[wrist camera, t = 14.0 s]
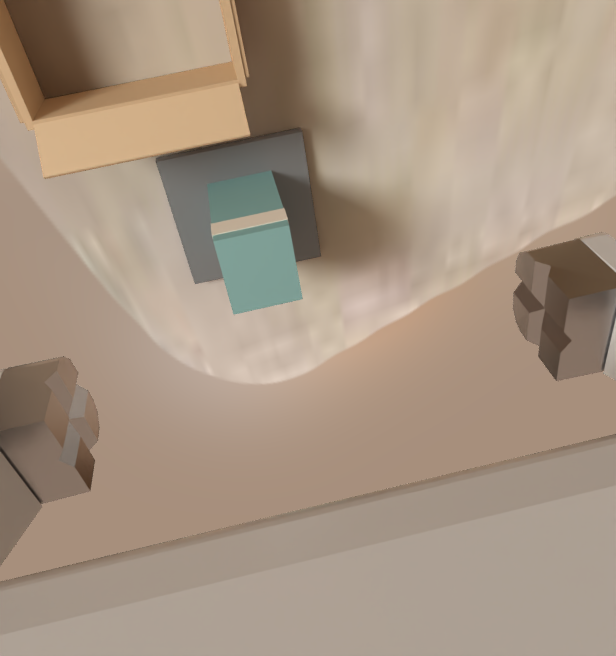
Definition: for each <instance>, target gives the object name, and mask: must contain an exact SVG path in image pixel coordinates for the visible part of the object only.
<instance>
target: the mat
mask: <svg viewBox="0 0 616 656" xmlns="http://www.w3.org/2000/svg"><path fill="white" fill-rule="evenodd" d="M156 164H157V167H158V170H159V173H160V176H161V179H162V182H163V185H164V189H165V192H166V195H167V198H168V201H169V204H170V207H171V210H172V213H173V217H174V220H175V223H176V226H177V229H178V232H179V235H180V238H181V242H182V245H183V248H184V251H185V254H186V257H187V260H188V263H189V267H190V270H191V273H192V276H193V279H194V282H195V284H198V283H202V282H207V281H211V280H216V279H220V278H223V274H222V271H221V267H220V264H219V260H218V257H217V253H216V250H215V246H214V242H213V238H212V233H211V216H210V206H209V197H208V188H207V184H210V183H214V182H219V181H224V180H229V179H233V178H238V177H243V176H248V175H252V174H257V173H262V172H266V171H272V174H273V178H274V181H275V184H276V187H277V190H278V193H279V196H280V199H281V202H282V205H283V208H284V209H285V212H286V215H287V218H288V222H289V228H290V233H291V239H292V244H293V249H294V255H295V260H296V262H298V261H302V260H307V259H311V258H316V257H320V256H321V253H320V246H319V240H318V233H317V226H316V220H315V213H314V206H313V200H312V193H311V187H310V180H309V173H308V167H307V160H306V154H305V147H304V140H303V134H302V130H301V128H297V129H292V130H287V131H283V132H278V133H273V134H268V135H264V136H259V137H254V138H249V139H244V140H240V141H235V142H230V143H225V144H220V145H216V146H211V147H206V148H201V149H196V150H192V151H187V152H182V153H177V154H172V155H168V156H163V157H158V158H156Z"/></svg>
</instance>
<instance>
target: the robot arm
mask: <svg viewBox="0 0 616 656" xmlns="http://www.w3.org/2000/svg"><path fill="white" fill-rule="evenodd" d="M515 273H516V274H517V275H518V276H519V278H520V279H521V280H522V282H521V283H520V285H519V286H518V287H517V289H516V290H515V291H514V293H513V294H514V295H513V310H514V315H515V320H516V323H517V325H518V327H519V329H520V332H521V333H522V334H523V336H524V337H525V339H526V340H527V341H529V342H532V343H534V344H536V345H538V346H539V354H538V356H539V358H540V360H541V361H542V362H543V363H544V365H545V366H546V368H547V369H548V370H549V372H550V373H551V374H552V376H553V377H554V379H555V380H556V381H559V380H563V379H569V378H573V377H578V376H583V375H588V374H593V373H597V372H602V371H604V372H603V374H605V375H607V376H609V377H611V378H613V379H614V380H616V240H615V239H614V238H613V237H612V236H610V235H609V234H607V233H603V232H599V233H595V234H592V235H587V236H584V237H580V238H576V239H574V240H572V241H568V242H563V243H559V244H554V245H550V246H546V247H542V248H537V249H534V250H529V251H525V252H520V253H519V255H518V258H517V260H516V270H515ZM77 377H78V371H77V370H76V368H75V366H74V365H73V363H72V362H71V360H70V359H69V358H66V357H64V356H63V357H58V358H53V359H48V360H43V361H38V362H34V363H29V364H24V365H19V366H15V367H9V368H7V369H1V370H0V566H1V565H2V563H3V562H4V560H5V559H6V557H7V556H8V555H9V553H10V552H11V550H12V549H13V547H14V546H15V545H16V543H17V542H18V540H19V539H20V537H21V536H22V535H23V533H24V532H25V530H26V529H27V527H28V526H29V525H30V523H31V522H32V520H33V519H34V518H35V516H36V515H37V513H38V512H39V510H40V509H41V508H42V505H41V504H43V503H47V502H51V501H55V500H58V499H62V498H66V497H70V496H74V495H77V494H81V493H85V492H89V491H90V490H91V484H92V477H93V471H94V464H95V459H94V458H93V456H92V454H91V453H90V451H89V450H90V449H91V448H92V447H93V446H94V445H95V443H96V442H97V441H98V436H99V421H98V412H97V409H96V406H95V403H94V400H93V398H92V396H91V395H90V393H89V391H88V390H86V389H84V388H82V387H80V386H79V385H77V384H76V382H77ZM0 656H616V434H613V435H609V436H605V437H601V438H597V439H593V440H588V441H584V442H581V443H576V444H572V445H568V446H563V447H559V448H555V449H551V450H547V451H542V452H538V453H534V454H530V455H526V456H522V457H517V458H513V459H509V460H505V461H501V462H497V463H492V464H489V465H484V466H480V467H475V468H471V469H467V470H463V471H459V472H454V473H450V474H446V475H442V476H438V477H433V478H429V479H425V480H421V481H417V482H413V483H408V484H405V485H400V486H396V487H392V488H388V489H384V490H380V491H375V492H372V493H367V494H363V495H359V496H355V497H350V498H346V499H342V500H338V501H334V502H329V503H325V504H321V505H317V506H313V507H309V508H305V509H300V510H296V511H292V512H288V513H284V514H280V515H276V516H271V517H267V518H263V519H259V520H255V521H251V522H246V523H242V524H239V525H235V526H230V527H226V528H222V529H217V530H213V531H209V532H205V533H201V534H197V535H192V536H188V537H184V538H180V539H176V540H172V541H167V542H163V543H159V544H155V545H151V546H147V547H142V548H138V549H134V550H130V551H126V552H122V553H117V554H113V555H109V556H105V557H101V558H97V559H93V560H88V561H84V562H80V563H76V564H72V565H67V566H63V567H59V568H55V569H51V570H47V571H42V572H39V573H34V574H30V575H26V576H22V577H18V578H14V579H9V580H6V581H1V582H0Z"/></svg>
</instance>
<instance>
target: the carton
mask: <svg viewBox="0 0 616 656" xmlns="http://www.w3.org/2000/svg"><path fill="white" fill-rule="evenodd" d="M219 2H220V7H221V11H222V16H223V21H224V25H225V30H226V35H227V40H228V44H229V49H230V54H231V59H232V62H228V63H223V64H218V65H213V66H208V67H203V68H199V69H194V70H189V71H184V72H179V73H174V74H169V75H164V76H159V77H154V78H149V79H144V80H139V81H134V82H129V83H124V84H119V85H114V86H109V87H104V88H99V89H94V90H89V91H84V92H80V93H75V94H70V95H65V96H60V97H55V98H50V99H44V96H43V94H42V91H41V89H40V87H39V84H38V82H37V79H36V77H35V75H34V72H33V70H32V67H31V65H30V62H29V60H28V58H27V55H26V53H25V50H24V48H23V46H22V43H21V41H20V38H19V36H18V34H17V31H16V29H15V26H14V24H13V22H12V19H11V17H10V14H9V12H8V10H7V7H6V5H5V2H4V0H0V79H1V81H2V83H3V86H4V88H5V90H6V92H7V94H8V97H9V99H10V101H11V103H12V105H13V108H14V110H15V112H16V114H17V116H18V119H19V121H20V123H25V125H26V127H27V129H28V131H29V130H35V135H36V140H37V146H38V151H39V156H40V162H41V167H42V172H43V178H45V179H47V178H52V177H57V176H62V175H66V174H71V173H76V172H81V171H86V170H90V169H95V168H100V167H105V166H110V165H114V164H119V163H124V162H129V161H134V160H138V159H143V158H148V157H153V156H158V155H162V154H167V153H172V152H177V151H182V150H186V149H191V148H196V147H201V146H205V145H210V144H215V143H220V142H225V141H229V140H234V139H239V138H244V137H249V136H250V131H249V127H248V123H247V118H246V114H245V110H244V105H243V101H242V96H241V92H240V87H245V86H247V84H246V79H245V77H249V72H248V67H247V62H246V57H245V52H244V47H243V42H242V37H241V31H240V26H239V21H238V16H237V11H236V6H235V1H234V0H219Z"/></svg>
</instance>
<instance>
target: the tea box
mask: <svg viewBox="0 0 616 656" xmlns="http://www.w3.org/2000/svg"><path fill="white" fill-rule="evenodd" d="M207 188H208V197H209V206H210V216H211V233H212V238H213V242H214V246H215V250H216V253H217V257H218V260H219V264H220V267H221V271H222V274H223V278H224V282H225V285H226V289H227V292H228V296H229V299H230V303H231V307H232V310H233V314H238V313H243V312H247V311H252V310H256V309H261V308H265V307H270V306H274V305H279V304H283V303H287V302H292V301H296V300H301V299H303V298H302V293H301V288H300V282H299V277H298V271H297V266H296V260H295V255H294V249H293V244H292V239H291V233H290V228H289V222H288V218H287V215H286V212H285V209H284V208H283V205H282V202H281V199H280V196H279V193H278V190H277V187H276V184H275V181H274V178H273V174H272V171H266V172H262V173H257V174H252V175H248V176H243V177H238V178H233V179H229V180H224V181H219V182H214V183H210V184H207Z"/></svg>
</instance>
